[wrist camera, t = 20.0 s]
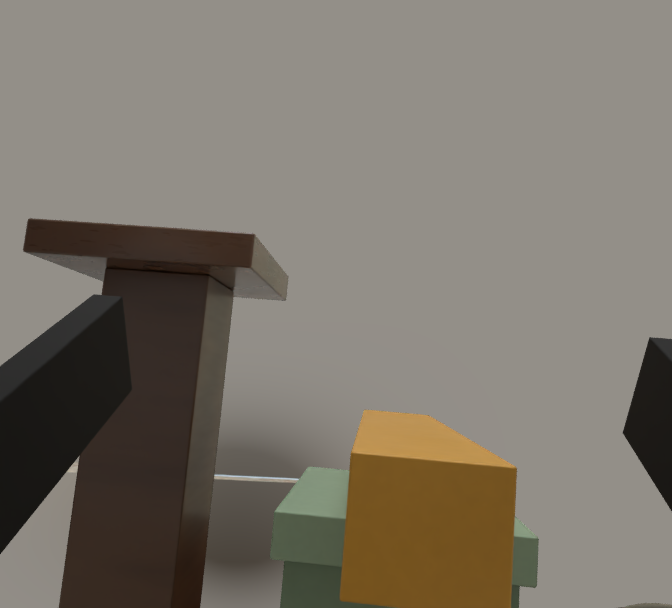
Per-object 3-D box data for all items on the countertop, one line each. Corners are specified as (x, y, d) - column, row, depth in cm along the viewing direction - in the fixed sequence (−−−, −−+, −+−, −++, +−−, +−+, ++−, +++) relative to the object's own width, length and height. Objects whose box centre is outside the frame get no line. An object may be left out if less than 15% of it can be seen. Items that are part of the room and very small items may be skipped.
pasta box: (359, 467, 35) (364, 409, 36) (425, 473, 35) (429, 415, 36) (338, 602, 14) (351, 450, 14) (511, 621, 13) (517, 466, 14)
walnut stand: (52, 811, 31) (124, 264, 35) (234, 837, 30) (288, 275, 34) (-98, 1010, 21) (27, 217, 25) (168, 1057, 21) (254, 232, 24)
